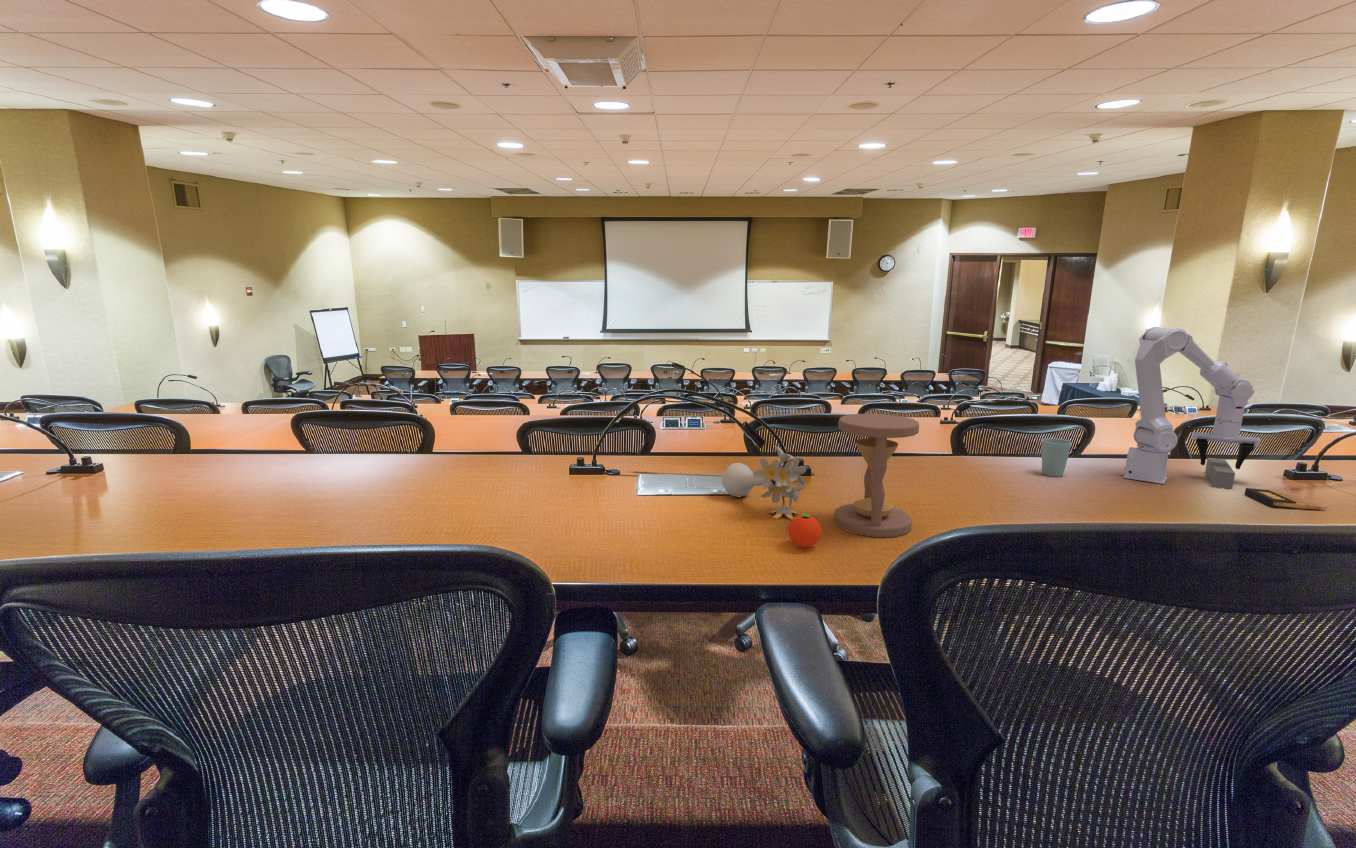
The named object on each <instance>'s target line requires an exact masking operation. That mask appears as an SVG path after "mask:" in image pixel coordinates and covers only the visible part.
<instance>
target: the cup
mask: <svg viewBox="0 0 1356 848" xmlns="http://www.w3.org/2000/svg"><path fill="white" fill-rule="evenodd" d="M1071 446H1072V441H1070V440H1067V439H1061V438H1052V437H1050V438H1047V437H1046V438H1042V439H1041V474H1042V475H1043V476H1048V477H1057V478H1060V477H1063V476H1064V474H1065V470H1066V466H1067V462H1068V459H1069V454H1070V450H1071Z"/></svg>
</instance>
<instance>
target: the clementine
mask: <svg viewBox="0 0 1356 848" xmlns="http://www.w3.org/2000/svg"><path fill="white" fill-rule="evenodd" d="M787 530H788V537H789V539H790V540H791V542H792V543H793V544H794V545H796V546H797V547H799V548H805V549H808V548H811V547H813V546H815V545H816V544H817V543H818V542H819V540H820V539H821V536H822V529H821V524H820V523H819V521H818V520H817V519H816V518H814V517H813V516H811V515H810V514H809V513H802V514H800V515H799V514H798V515H797V516H796V517H794V519H791V521H790V522H789V525H788V529H787Z"/></svg>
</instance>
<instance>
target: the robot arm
mask: <svg viewBox="0 0 1356 848" xmlns="http://www.w3.org/2000/svg"><path fill="white" fill-rule="evenodd" d="M1138 340H1139V347H1138V349H1137V353H1136V355H1135V358H1134V364H1135V365H1134V367H1135V373H1136V381H1137V382H1136V383H1137V390H1138V391H1137V393H1138V399H1139V410H1140V417H1141V418H1140V419H1139V420H1137V421H1136V422H1135V430H1134V432H1133V440H1134V441H1135V443H1136V447H1132V446H1131V447H1129V448H1128V451H1127V455H1126V460H1125V461H1126V462H1125V465H1124V475H1123V478H1124V479H1129V480H1136V481H1142V482H1148V483H1155V484H1163V485H1164V484H1165V483H1166V482H1167V480H1168V476H1166V472H1167V466H1168V459H1169V453H1171V451H1172V450H1173V449H1174V448H1175V447H1176V446H1177V444H1178V436H1177V434H1176V433H1175V431H1174V429H1173V424H1172V423H1171V422H1170V421H1169V420H1168V418H1167V417H1166V410H1165V398H1164V390H1163V382H1162V371H1161V364H1162V363H1163V362H1164V361H1165V360H1167V358H1169V357H1171V356H1173V355H1175V354H1177V353H1180V354H1181V355H1182V356H1184V357H1185V358H1186V359H1188V360H1189V362H1191V363H1193V365H1195V366H1196V367H1197V368H1199V375H1200V376H1201V377H1202V378H1203V379H1205V381H1206V382H1207V383H1209V384H1210V385H1211V386H1212V387H1213V388H1214V393H1215V395H1217V396H1219V397H1218V402H1217V408H1216V412H1215V413H1216V414H1215V417H1214V418H1215V419H1214V424H1213V429H1212V432H1199V431H1198V432H1197V431H1192V433H1191V437H1190V438H1191V439H1192V440H1195V443H1196V445H1197V449H1198V452H1199V457H1200V465H1201V466H1206V461H1207V460H1206V458H1207V451H1208V447H1209V443H1208V441H1211V442H1217V443H1218V442H1219V443H1230V444H1238V452H1237V459H1236V462H1235V467H1234V468H1235V469H1236V470H1240V469H1241V467H1242V465H1243V463H1244V461H1245V460H1246V458H1248V456H1249V455H1250V454H1251V453H1252V452H1253V451H1254V449H1255V447H1259V446H1260V444H1261V438H1260V437H1252V436H1251V437H1250V436H1243V435H1241V429H1242V423H1243V418H1244V412H1245V408H1246V406H1247V405H1248V401H1249V400H1250V398H1252V397H1253V396H1254V394H1255V390H1254V388H1253V385H1252V384H1251V383H1250V381H1248V380H1244V379H1241V378H1240V374H1238V373H1235V372H1234V371H1233V370H1232V369H1231V368H1230V367H1228V366H1229V363H1228V362H1226V361H1221V360H1213V359H1212V358H1211V357H1210V356H1209V355H1208V354H1207V352H1205V351H1204V350H1203V349H1202V348H1201V346H1199V344H1197V342H1195V340H1194V339H1193V336H1192V335H1190V334H1189V333H1187V331H1186V330H1185V329H1182V328H1180V327H1178V328H1177V327H1176V328H1166V327H1160V326H1159V327H1158V326H1155V327H1150V328H1148V329H1147V330H1146V331H1145V332H1144V333H1142V334H1141V336H1140V337H1139V338H1138Z"/></svg>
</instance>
